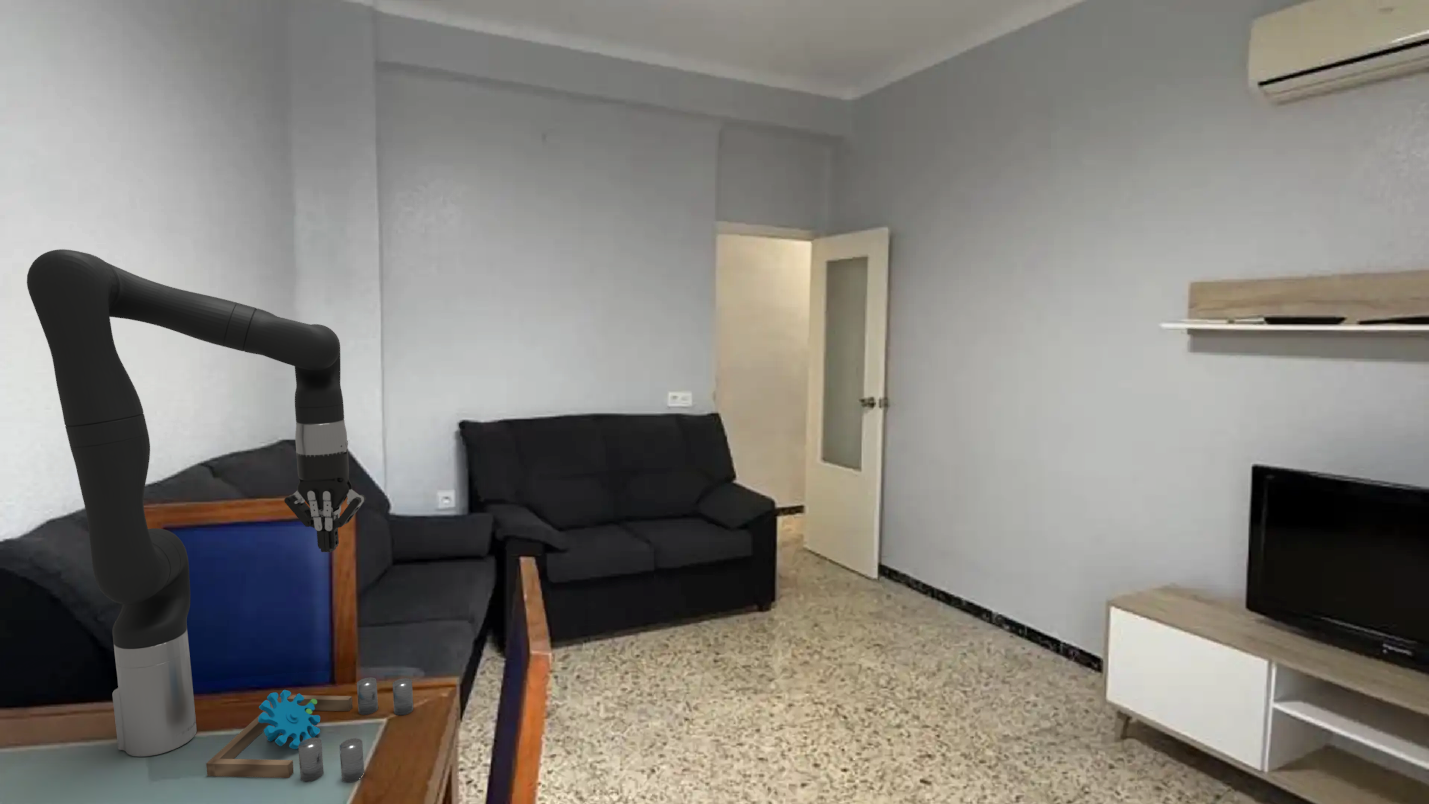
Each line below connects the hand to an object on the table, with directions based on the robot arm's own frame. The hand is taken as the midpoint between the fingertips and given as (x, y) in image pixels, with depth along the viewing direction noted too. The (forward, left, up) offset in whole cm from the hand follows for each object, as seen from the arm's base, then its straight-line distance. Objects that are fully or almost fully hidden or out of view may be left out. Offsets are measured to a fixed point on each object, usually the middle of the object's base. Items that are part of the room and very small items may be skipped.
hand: (328, 550), depth 131 cm
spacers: (+9, -11, -27) cm, 31 cm away
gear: (-2, -11, -27) cm, 29 cm away
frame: (-3, -11, -27) cm, 29 cm away
